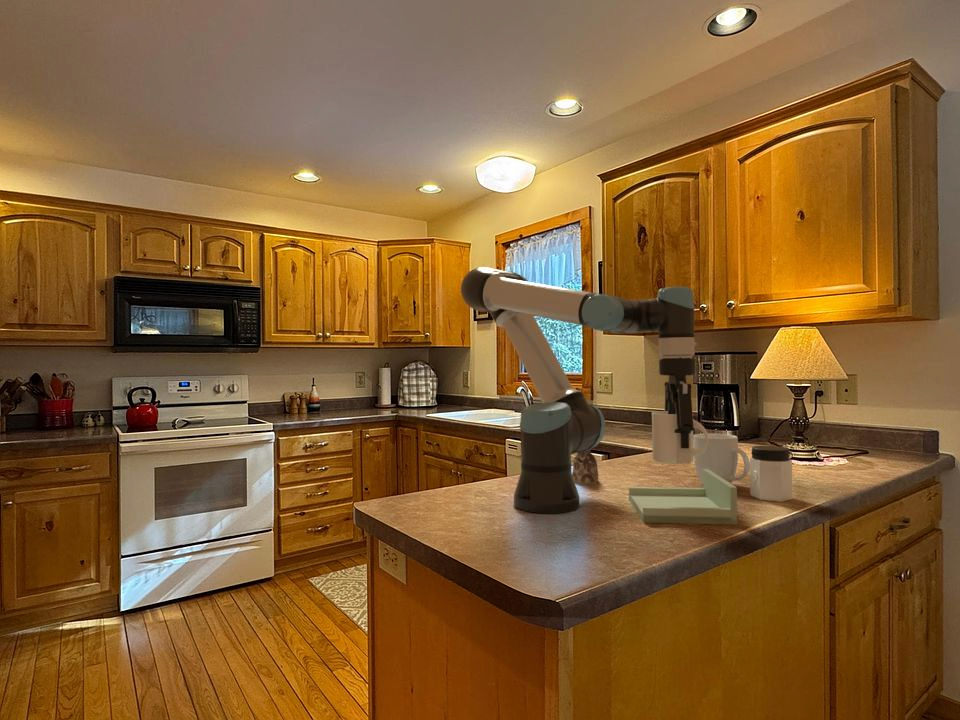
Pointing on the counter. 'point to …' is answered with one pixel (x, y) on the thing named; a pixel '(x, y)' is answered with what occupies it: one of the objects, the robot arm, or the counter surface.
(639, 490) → the tray
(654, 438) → the mug
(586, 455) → the figurine
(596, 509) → the counter surface
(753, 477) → the jar
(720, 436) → the mug
